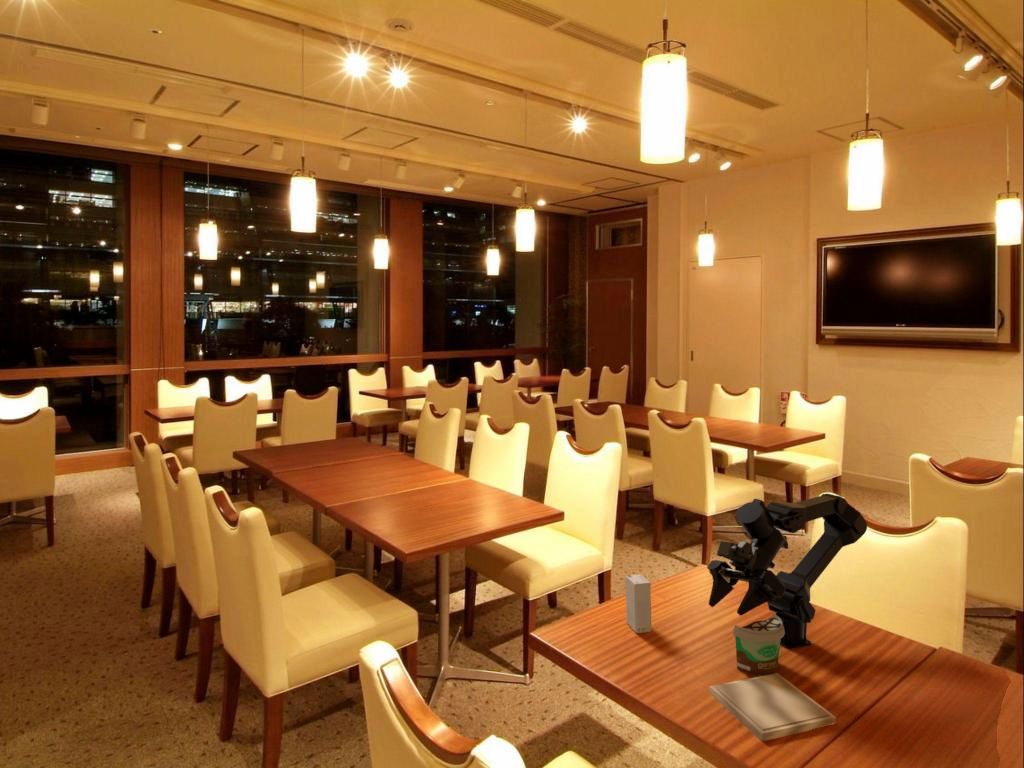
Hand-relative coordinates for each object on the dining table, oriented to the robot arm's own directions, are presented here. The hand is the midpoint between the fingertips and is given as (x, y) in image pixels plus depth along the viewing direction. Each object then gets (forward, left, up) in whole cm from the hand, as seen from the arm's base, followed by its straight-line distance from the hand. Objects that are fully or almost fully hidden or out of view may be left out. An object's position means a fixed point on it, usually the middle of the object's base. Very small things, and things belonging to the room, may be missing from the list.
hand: (724, 609), depth 141 cm
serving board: (0, +15, -14) cm, 20 cm away
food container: (-8, +3, -13) cm, 16 cm away
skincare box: (+8, -23, -13) cm, 28 cm away
